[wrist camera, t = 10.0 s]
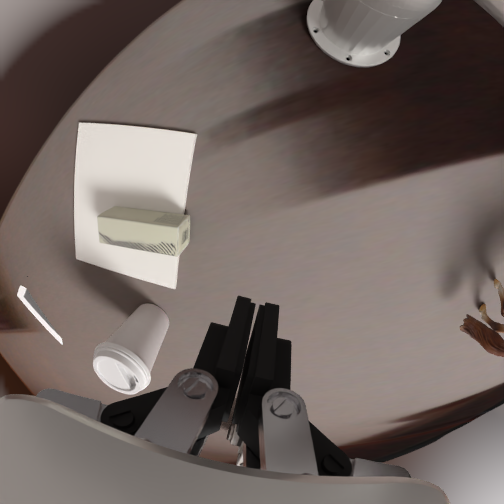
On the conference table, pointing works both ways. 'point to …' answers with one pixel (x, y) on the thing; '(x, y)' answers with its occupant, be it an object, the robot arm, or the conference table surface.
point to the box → (144, 230)
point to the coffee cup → (132, 350)
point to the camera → (236, 443)
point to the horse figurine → (484, 334)
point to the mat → (129, 191)
